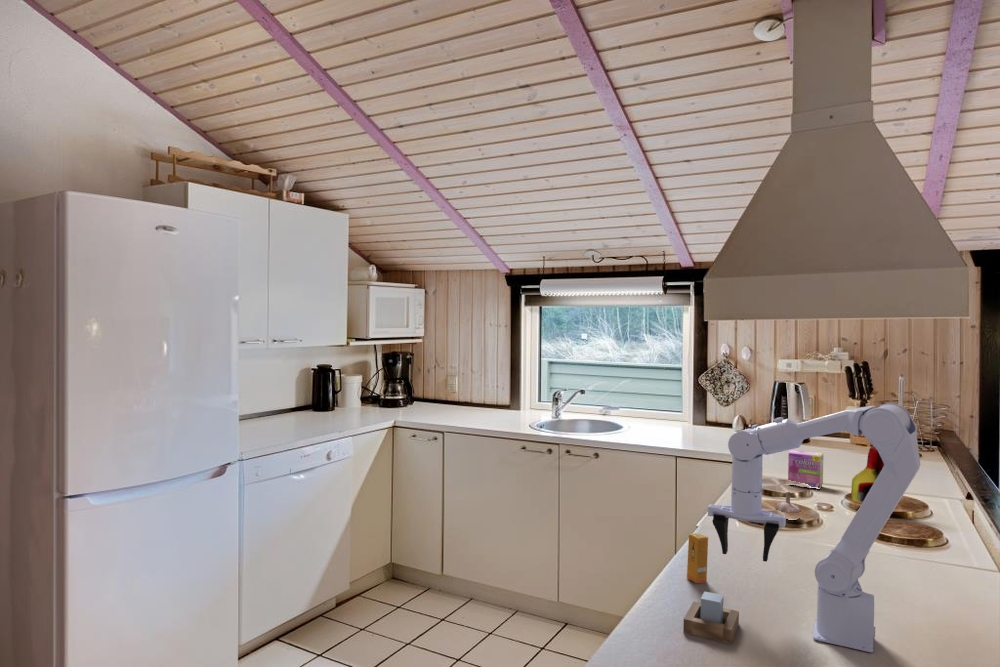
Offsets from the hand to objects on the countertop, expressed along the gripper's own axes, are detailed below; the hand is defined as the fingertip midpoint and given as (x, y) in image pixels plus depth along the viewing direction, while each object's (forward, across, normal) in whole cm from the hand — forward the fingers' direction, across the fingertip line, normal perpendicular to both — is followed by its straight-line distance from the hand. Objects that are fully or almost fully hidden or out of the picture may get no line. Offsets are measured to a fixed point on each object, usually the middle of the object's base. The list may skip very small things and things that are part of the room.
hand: (744, 556), depth 131 cm
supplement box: (+11, +11, -9) cm, 18 cm away
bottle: (+11, -25, -89) cm, 93 cm away
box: (+11, -5, -111) cm, 112 cm away
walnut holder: (+10, +4, +12) cm, 17 cm away
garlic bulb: (+11, -3, -68) cm, 69 cm away
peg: (+10, +4, +12) cm, 17 cm away
